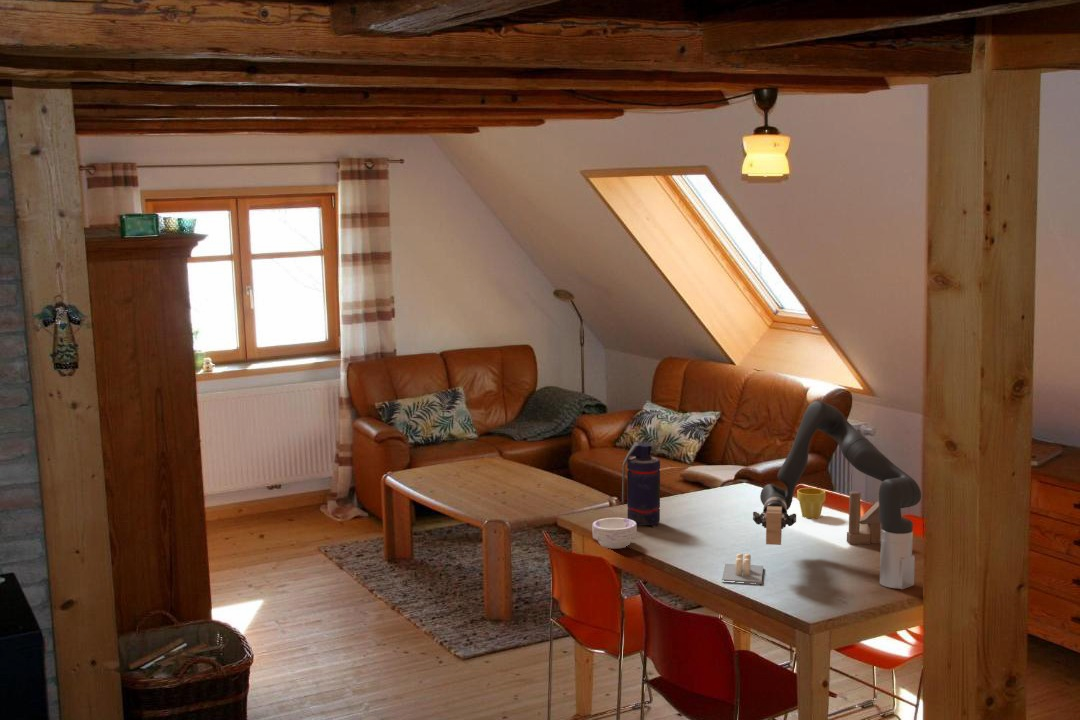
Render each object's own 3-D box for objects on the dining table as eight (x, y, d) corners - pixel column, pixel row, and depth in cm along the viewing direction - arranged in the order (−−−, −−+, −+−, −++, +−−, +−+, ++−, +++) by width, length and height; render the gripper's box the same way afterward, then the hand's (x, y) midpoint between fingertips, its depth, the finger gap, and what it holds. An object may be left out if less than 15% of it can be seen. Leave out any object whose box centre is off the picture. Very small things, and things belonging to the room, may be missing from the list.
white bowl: (585, 541, 403) (585, 519, 402) (625, 536, 408) (625, 515, 407) (603, 554, 389) (603, 531, 388) (644, 548, 394) (644, 526, 393)
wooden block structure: (880, 543, 397) (882, 492, 395) (850, 545, 396) (851, 493, 394) (876, 540, 401) (878, 490, 398) (846, 541, 400) (847, 491, 397)
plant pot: (791, 516, 433) (791, 490, 431) (807, 511, 440) (807, 485, 438) (814, 521, 425) (815, 495, 424) (830, 516, 432) (831, 490, 431)
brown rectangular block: (766, 536, 366) (767, 506, 365) (781, 537, 365) (781, 506, 364) (766, 544, 359) (766, 512, 357) (780, 544, 358) (781, 513, 356)
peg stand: (725, 566, 374) (725, 548, 374) (763, 568, 372) (763, 550, 371) (722, 582, 359) (722, 563, 358) (761, 584, 356) (761, 566, 355)
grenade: (658, 519, 430) (658, 439, 426) (661, 528, 419) (661, 446, 415) (621, 519, 431) (621, 440, 427) (622, 528, 419) (622, 446, 415)
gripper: (752, 498, 375) (750, 512, 358) (798, 500, 372) (797, 514, 355) (752, 520, 376) (750, 535, 360) (797, 523, 373) (797, 538, 356)
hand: (773, 525), depth 358 cm, fingers closed on brown rectangular block, 4 cm apart
